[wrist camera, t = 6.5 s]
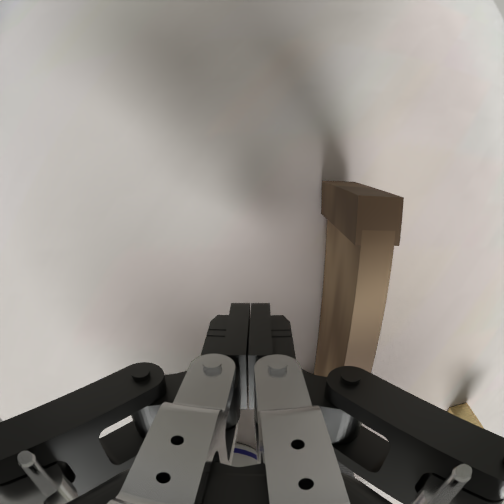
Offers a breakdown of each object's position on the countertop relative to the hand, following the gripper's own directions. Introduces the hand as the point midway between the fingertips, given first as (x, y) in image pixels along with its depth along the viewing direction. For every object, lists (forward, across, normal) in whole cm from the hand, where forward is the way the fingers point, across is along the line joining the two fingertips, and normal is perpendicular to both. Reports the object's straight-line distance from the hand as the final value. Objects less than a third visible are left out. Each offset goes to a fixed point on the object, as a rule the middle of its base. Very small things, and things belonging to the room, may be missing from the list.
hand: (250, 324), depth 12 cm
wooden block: (+4, -4, +1) cm, 6 cm away
